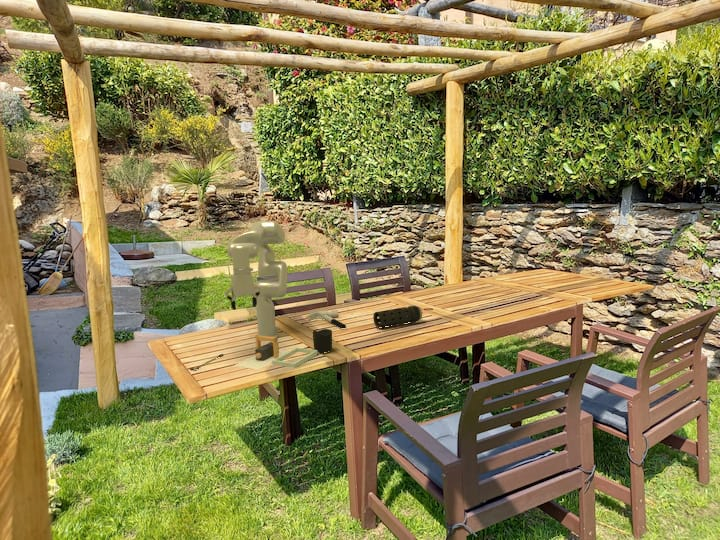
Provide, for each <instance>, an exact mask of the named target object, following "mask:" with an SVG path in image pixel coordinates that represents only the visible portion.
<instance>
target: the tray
mask: <svg viewBox="0 0 720 540" xmlns="http://www.w3.org/2000/svg"><path fill="white" fill-rule="evenodd" d="M296 353H303V354H304V353H305V354H307V355H305V356H303V357H302V358H299V360H296V361H295V362H290V361H284V360H285V359H286V358H289V357H291V356H292V355H293V354H296ZM318 353H319V352H318V350H314V349H311V348H310V349H309V348H302V347H295V348H293V349H291V350H289V352H287V353H285V354H284V355H282V356H280V357H278V358H276V359H274V360H272V363H271V364H272V365H274V366H275V365H276V366H281V367H282V366H283V367H287V368H289V367H290V368H296V367H297V366H299V365H301V364H302V365H304V364H305V363H304V362H306V361H307V362H309V361H310V360H309V359H311V358H312V359H314V358H315V357H314V356H316V355H317V354H318ZM318 355H319V354H318ZM313 357H314V358H313ZM316 357H317V356H316ZM312 359H311V360H312ZM308 360H309V361H308ZM307 362H306V363H307ZM303 363H304V364H303ZM302 365H301V366H302ZM299 367H300V366H299ZM296 369H297V368H296Z"/></svg>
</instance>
